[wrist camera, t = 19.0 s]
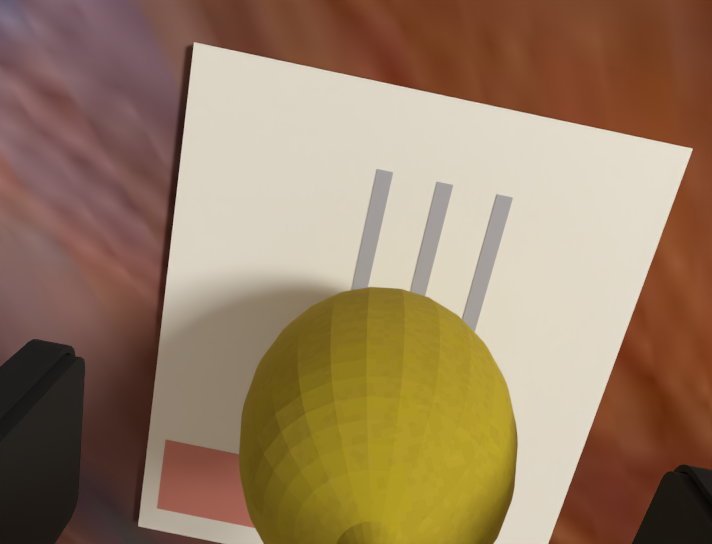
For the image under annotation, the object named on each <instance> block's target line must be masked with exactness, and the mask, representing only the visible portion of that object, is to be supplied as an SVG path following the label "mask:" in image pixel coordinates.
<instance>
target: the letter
mask: <svg viewBox="0 0 712 544" xmlns="http://www.w3.org/2000/svg"><path fill="white" fill-rule="evenodd" d="M692 150H693V149H691V148H687V147H683V146H678V145H673V144H669V143H664V142H659V141H655V140H650V139H645V138H641V137H636V136H631V135H627V134H622V133H617V132H613V131H608V130H603V129H599V128H594V127H589V126H584V125H580V124H575V123H570V122H566V121H561V120H556V119H552V118H547V117H542V116H538V115H533V114H528V113H524V112H519V111H514V110H510V109H505V108H500V107H496V106H491V105H486V104H481V103H477V102H472V101H467V100H463V99H458V98H453V97H449V96H444V95H439V94H435V93H430V92H425V91H421V90H416V89H411V88H407V87H402V86H397V85H393V84H388V83H383V82H378V81H374V80H369V79H364V78H360V77H355V76H350V75H346V74H341V73H336V72H332V71H327V70H322V69H318V68H313V67H308V66H304V65H299V64H294V63H290V62H285V61H280V60H275V59H271V58H266V57H261V56H257V55H252V54H247V53H243V52H238V51H233V50H229V49H224V48H219V47H215V46H210V45H205V44H201V43H195V42H194V47H193V55H192V64H191V73H190V81H189V90H188V99H187V107H186V116H185V125H184V133H183V142H182V151H181V159H180V168H179V177H178V185H177V194H176V203H175V211H174V220H173V229H172V237H171V246H170V255H169V263H168V272H167V281H166V289H165V298H164V307H163V315H162V324H161V333H160V341H159V350H158V359H157V367H156V376H155V385H154V393H153V402H152V411H151V419H150V428H149V437H148V445H147V454H146V463H145V471H144V480H143V489H142V497H141V506H140V515H139V523H138V526H139V527H144V528H149V529H154V530H159V531H164V532H169V533H174V534H179V535H184V536H189V537H194V538H199V539H204V540H209V541H214V542H219V543H224V544H264V543H263V542H262V540H261V538H260V536H259V534H258V532H257V531H256V529H255V527H254V525H253V523H252V521H251V519H250V516H249V513H248V510H247V506H246V501H245V497H244V492H243V488H242V483H241V478H240V471H239V447H240V431H241V417H242V411H243V405H244V402H245V399H246V396H247V393H248V391H249V388H250V385H251V382H252V380H253V377H254V374H255V371H256V369H257V366H258V364H259V362H260V360H261V359H262V357H263V356H264V355H265V353H266V352H267V350H268V349H269V348H270V346H271V345H272V344H273V342H274V341H275V340H276V338H277V337H278V336H279V334H280V333H281V332H282V330H283V329H284V328H285V327H286V326H287V325H288V324H289V323H291V322H292V321H293V320H294V319H296V318H297V317H298V316H299V315H301V314H302V313H303V312H304V311H306V310H307V309H308V308H309V307H311V306H312V305H314V304H316V303H318V302H320V301H323V300H325V299H327V298H329V297H332V296H334V295H336V294H338V293H341V292H344V291H350V290H356V289H362V288H367V287H381V288H397V289H403V290H406V291H410V292H413V293H416V294H419V295H423V296H426V297H429V298H431V299H432V300H434V301H435V302H437V303H439V304H440V305H442V306H444V307H445V308H447V309H449V310H450V311H452V312H453V313H455V314H457V315H458V316H459V317H460V318H461V319H462V320H463V321H464V322H465V323H466V324H467V325H468V326H469V327H470V328H471V329H472V330H473V331H474V332H475V333H476V334H477V335H478V336H479V337H480V339H481V340H482V341H483V342H484V343H485V345H486V346H487V348H488V349H489V351H490V353H491V355H492V357H493V358H494V360H495V362H496V364H497V366H498V367H499V369H500V371H501V373H502V375H503V377H504V379H505V381H506V383H507V387H508V390H509V394H510V399H511V403H512V408H513V413H514V417H515V422H516V428H517V438H518V448H517V461H516V474H515V486H514V492H513V497H512V501H511V504H510V507H509V509H508V512H507V515H506V517H505V520H504V522H503V525H502V528H501V530H500V533H499V535H498V538H497V539H496V541H495V542H494V543H493V544H548V543H549V540H550V537H551V534H552V532H553V529H554V526H555V523H556V521H557V518H558V515H559V513H560V510H561V507H562V504H563V502H564V499H565V496H566V493H567V491H568V488H569V485H570V483H571V480H572V477H573V474H574V472H575V469H576V466H577V463H578V461H579V458H580V455H581V453H582V450H583V447H584V444H585V442H586V439H587V436H588V433H589V431H590V428H591V425H592V422H593V420H594V417H595V414H596V412H597V409H598V406H599V403H600V401H601V398H602V395H603V392H604V390H605V387H606V384H607V382H608V379H609V376H610V373H611V371H612V368H613V365H614V362H615V360H616V357H617V354H618V352H619V349H620V346H621V343H622V341H623V338H624V335H625V332H626V330H627V327H628V324H629V322H630V319H631V316H632V313H633V311H634V308H635V305H636V302H637V300H638V297H639V294H640V291H641V289H642V286H643V283H644V281H645V278H646V275H647V272H648V270H649V267H650V264H651V261H652V259H653V256H654V253H655V251H656V248H657V245H658V242H659V240H660V237H661V234H662V231H663V229H664V226H665V223H666V221H667V218H668V215H669V212H670V210H671V207H672V204H673V201H674V199H675V196H676V193H677V191H678V188H679V185H680V182H681V180H682V177H683V174H684V171H685V169H686V166H687V163H688V161H689V158H690V155H691V152H692Z"/></svg>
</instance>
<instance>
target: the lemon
mask: <svg viewBox="0 0 712 544" xmlns="http://www.w3.org/2000/svg"><path fill="white" fill-rule="evenodd" d="M517 448H518V438H517V428H516V422H515V417H514V413H513V408H512V403H511V399H510V394H509V390H508V387H507V383H506V381H505V379H504V377H503V375H502V373H501V371H500V369H499V367H498V366H497V364H496V362H495V360H494V358H493V357H492V355H491V353H490V351H489V349H488V348H487V346H486V345H485V343H484V342H483V341H482V340H481V339H480V337H479V336H478V335H477V334H476V333H475V332H474V331H473V330H472V329H471V328H470V327H469V326H468V325H467V324H466V323H465V322H464V321H463V320H462V319H461V318H460V317H459V316H458V315H457V314H455V313H453V312H452V311H450V310H449V309H447V308H445V307H444V306H442V305H440V304H439V303H437V302H435V301H434V300H432V299H431V298H429V297H426V296H423V295H419V294H416V293H413V292H410V291H406V290H403V289H397V288H381V287H367V288H362V289H356V290H350V291H344V292H341V293H338V294H336V295H334V296H332V297H329V298H327V299H325V300H323V301H320V302H318V303H316V304H314V305H312V306H311V307H309V308H308V309H307V310H306V311H304V312H303V313H302V314H301V315H299V316H298V317H297V318H296V319H294V320H293V321H292V322H291V323H289V324H288V325H287V326H286V327H285V328H284V329H283V330H282V332H281V333H280V334H279V336H278V337H277V338H276V340H275V341H274V342H273V344H272V345H271V346H270V348H269V349H268V350H267V352H266V353H265V355H264V356H263V357H262V359H261V360H260V362H259V364H258V366H257V369H256V371H255V374H254V377H253V380H252V382H251V385H250V388H249V391H248V393H247V396H246V399H245V402H244V405H243V411H242V417H241V431H240V447H239V471H240V478H241V483H242V488H243V492H244V497H245V501H246V506H247V510H248V513H249V516H250V519H251V521H252V523H253V525H254V527H255V529H256V531H257V532H258V534H259V536H260V538H261V540H262V542H263V543H264V544H493V543H494V542H495V541H496V539H497V538H498V535H499V533H500V530H501V528H502V525H503V522H504V520H505V517H506V515H507V512H508V509H509V507H510V504H511V501H512V497H513V492H514V486H515V474H516V461H517Z"/></svg>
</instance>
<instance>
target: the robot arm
mask: <svg viewBox="0 0 712 544" xmlns="http://www.w3.org/2000/svg"><path fill="white" fill-rule="evenodd" d="M84 375H85V362H84V359H83V358H81V357H76V356H75V351H74V348H73V347H72V346H68V345H63V344H58V343H53V342H48V341H43V340H37V339H33V340H31V341H30V342H28V343H27V344H26V345H25V346H24V347H22V348H21V349H20V350H19V351H18V352H17V353H16V354H14V355H13V356H12V357H11V358H10V359H9V360H8V361H6V362H5V363H4V364H3V365H2V366H1V367H0V544H55V542H56V541H57V539H58V538H59V536H60V534H61V533H62V531H63V530H64V528H65V527H66V525H67V523H68V522H69V520H70V518H71V517H72V514H73V512H74V509H75V506H76V503H77V499H78V488H79V469H80V450H81V431H82V413H83V394H84ZM632 544H712V470H709V469H704V468H699V467H694V466H689V465H680V466H678V467H677V468H676V469H675V470H674V472H672V471H671V472H667V473H666V474H665V475H664V476H663V478H662V480H661V482H660V484H659V486H658V488H657V491H656V493H655V495H654V497H653V499H652V502H651V504H650V506H649V508H648V510H647V512H646V515H645V517H644V519H643V521H642V523H641V525H640V528H639V530H638V532H637V534H636V536H635V538H634V541H633V543H632Z"/></svg>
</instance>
